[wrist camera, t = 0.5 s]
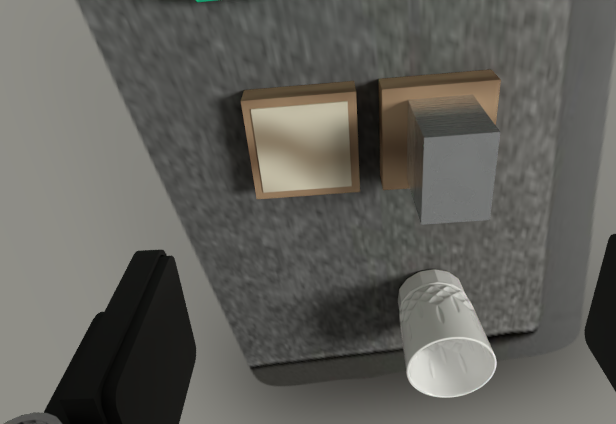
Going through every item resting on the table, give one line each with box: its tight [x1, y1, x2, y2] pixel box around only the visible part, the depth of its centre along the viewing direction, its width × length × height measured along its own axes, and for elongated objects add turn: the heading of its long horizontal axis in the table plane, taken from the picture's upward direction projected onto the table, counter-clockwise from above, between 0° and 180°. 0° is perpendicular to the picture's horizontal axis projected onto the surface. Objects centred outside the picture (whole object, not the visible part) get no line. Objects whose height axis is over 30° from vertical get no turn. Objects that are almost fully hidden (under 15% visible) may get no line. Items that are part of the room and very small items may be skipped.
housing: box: [407, 95, 500, 224], centre depth 40 cm, size 7×5×7 cm
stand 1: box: [241, 81, 360, 199], centre depth 44 cm, size 9×9×3 cm
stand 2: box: [379, 70, 501, 190], centre depth 44 cm, size 9×9×2 cm
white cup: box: [398, 269, 496, 398], centre depth 51 cm, size 8×8×10 cm
